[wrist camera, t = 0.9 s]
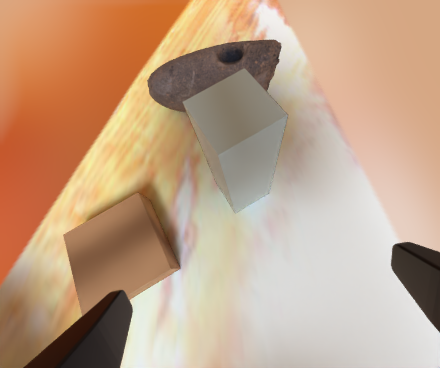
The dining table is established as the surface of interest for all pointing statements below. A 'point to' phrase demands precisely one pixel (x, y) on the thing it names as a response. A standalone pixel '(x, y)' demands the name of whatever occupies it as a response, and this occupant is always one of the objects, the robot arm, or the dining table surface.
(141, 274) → the base block
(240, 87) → the column
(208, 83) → the perforated stone tool
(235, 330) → the dining table surface
